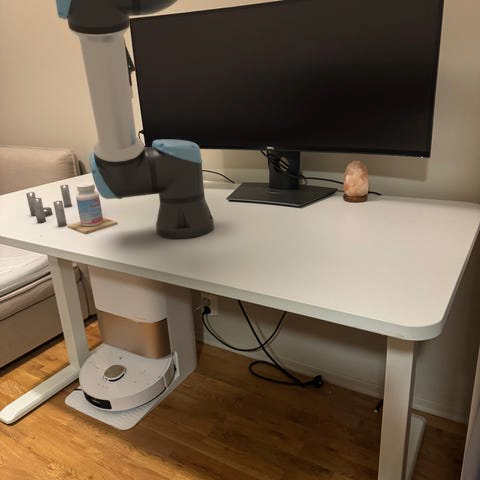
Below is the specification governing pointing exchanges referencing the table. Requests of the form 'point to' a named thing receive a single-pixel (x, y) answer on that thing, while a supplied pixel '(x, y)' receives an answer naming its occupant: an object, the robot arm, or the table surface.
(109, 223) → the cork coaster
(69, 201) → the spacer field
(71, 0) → the robot arm
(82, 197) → the pill bottle
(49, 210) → the steel nut
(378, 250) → the table surface
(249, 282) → the table surface
